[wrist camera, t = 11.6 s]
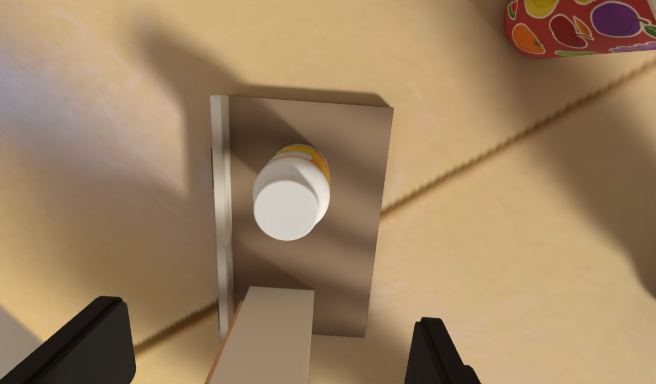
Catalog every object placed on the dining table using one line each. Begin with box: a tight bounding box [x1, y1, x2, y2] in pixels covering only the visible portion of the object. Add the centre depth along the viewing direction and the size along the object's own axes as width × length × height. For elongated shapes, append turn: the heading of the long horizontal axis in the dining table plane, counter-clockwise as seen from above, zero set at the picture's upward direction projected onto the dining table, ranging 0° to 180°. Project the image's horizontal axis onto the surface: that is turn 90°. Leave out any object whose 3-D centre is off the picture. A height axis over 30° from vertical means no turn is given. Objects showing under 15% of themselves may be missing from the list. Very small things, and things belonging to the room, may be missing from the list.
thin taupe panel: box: [210, 95, 394, 343], centre depth 29 cm, size 24×15×3 cm, turn 176°
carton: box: [205, 286, 314, 384], centre depth 27 cm, size 5×7×12 cm
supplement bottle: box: [253, 144, 330, 241], centre depth 23 cm, size 5×5×10 cm
